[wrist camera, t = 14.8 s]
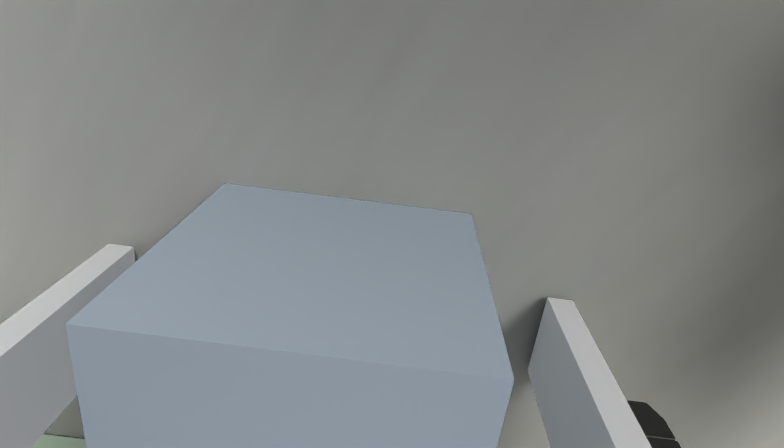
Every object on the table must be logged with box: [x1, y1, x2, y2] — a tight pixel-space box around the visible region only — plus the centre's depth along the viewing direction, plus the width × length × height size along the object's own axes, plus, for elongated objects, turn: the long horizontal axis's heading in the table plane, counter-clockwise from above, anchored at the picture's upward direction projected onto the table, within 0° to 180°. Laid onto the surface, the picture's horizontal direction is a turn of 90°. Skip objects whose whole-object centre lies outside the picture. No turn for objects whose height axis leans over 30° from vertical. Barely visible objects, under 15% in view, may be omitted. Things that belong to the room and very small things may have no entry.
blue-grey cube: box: [65, 183, 514, 448], centre depth 12 cm, size 7×7×7 cm
